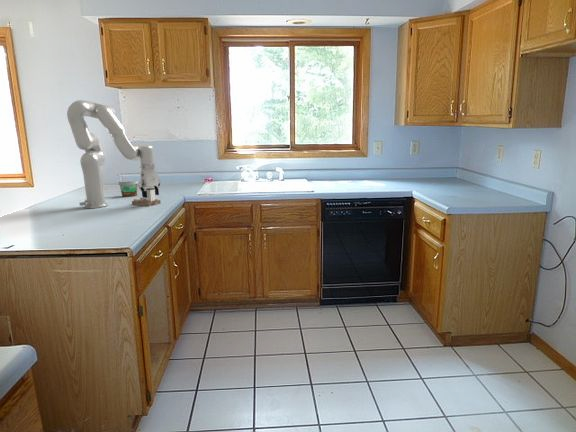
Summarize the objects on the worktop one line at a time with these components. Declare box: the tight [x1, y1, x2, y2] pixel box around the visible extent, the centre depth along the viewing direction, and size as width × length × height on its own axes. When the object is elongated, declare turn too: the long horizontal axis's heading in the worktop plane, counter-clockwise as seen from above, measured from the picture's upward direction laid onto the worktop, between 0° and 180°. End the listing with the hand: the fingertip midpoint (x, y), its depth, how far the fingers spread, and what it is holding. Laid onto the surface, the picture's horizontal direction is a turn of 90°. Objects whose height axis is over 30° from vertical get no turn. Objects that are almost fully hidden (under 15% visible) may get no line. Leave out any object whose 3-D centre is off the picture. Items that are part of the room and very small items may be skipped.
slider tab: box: [146, 187, 157, 201], centre depth 247 cm, size 4×4×7 cm
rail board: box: [131, 197, 162, 207], centre depth 250 cm, size 9×14×3 cm, turn 63°
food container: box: [118, 180, 139, 198], centre depth 276 cm, size 12×6×10 cm, turn 105°
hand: (150, 196), depth 247 cm, fingers open, 9 cm apart
